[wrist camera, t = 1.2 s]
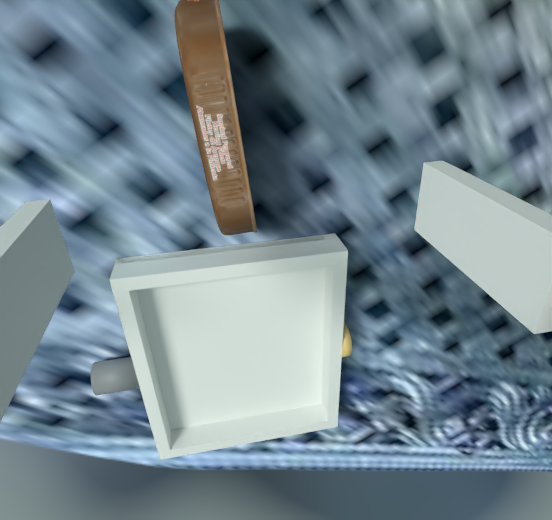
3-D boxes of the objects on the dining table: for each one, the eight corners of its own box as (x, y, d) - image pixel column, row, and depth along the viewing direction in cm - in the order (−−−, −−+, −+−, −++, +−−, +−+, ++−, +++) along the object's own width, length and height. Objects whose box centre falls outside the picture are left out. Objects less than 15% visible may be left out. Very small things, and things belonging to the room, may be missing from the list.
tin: (252, 206, 34) (269, 251, 27) (216, 212, 34) (223, 260, 27) (218, -3, 27) (229, -17, 20) (171, 4, 26) (164, -9, 19)
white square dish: (345, 232, 37) (359, 249, 34) (336, 400, 48) (346, 425, 45) (66, 264, 34) (54, 287, 31) (125, 438, 45) (120, 467, 42)
